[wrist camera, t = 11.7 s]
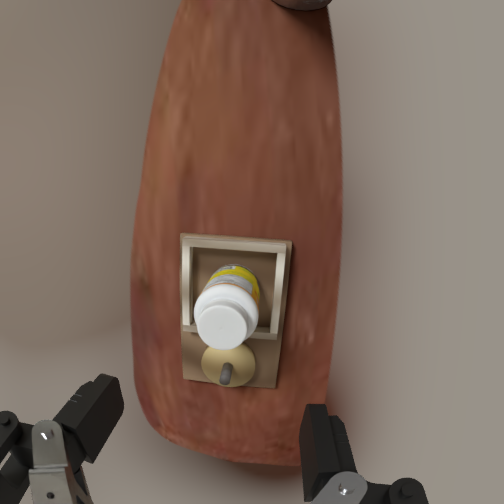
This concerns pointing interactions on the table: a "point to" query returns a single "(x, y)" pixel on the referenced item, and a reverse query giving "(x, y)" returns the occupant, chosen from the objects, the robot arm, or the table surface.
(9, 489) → the robot arm
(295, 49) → the table surface
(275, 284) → the board
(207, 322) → the supplement bottle
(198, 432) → the table surface
